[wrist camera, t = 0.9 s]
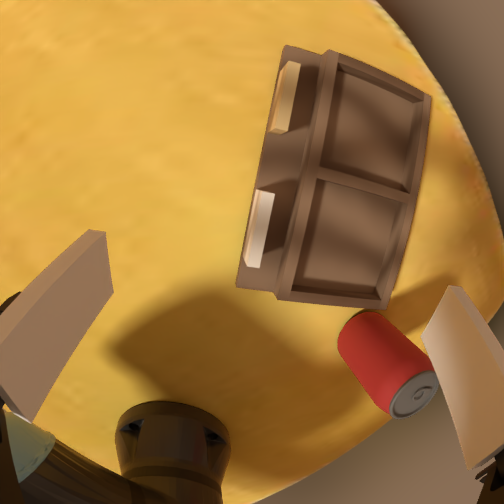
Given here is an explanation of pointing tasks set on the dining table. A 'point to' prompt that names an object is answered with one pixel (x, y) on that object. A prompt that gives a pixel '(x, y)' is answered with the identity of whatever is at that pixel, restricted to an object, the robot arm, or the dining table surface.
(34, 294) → the robot arm
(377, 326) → the beer can
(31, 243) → the dining table surface
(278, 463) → the dining table surface
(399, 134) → the brown desk organizer
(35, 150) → the dining table surface
